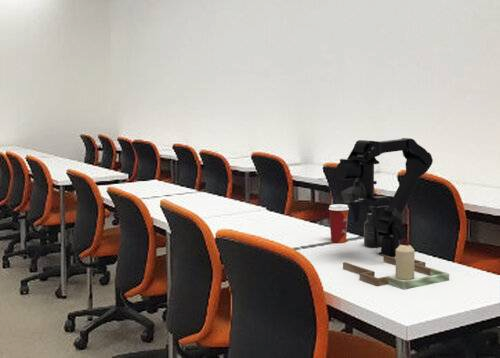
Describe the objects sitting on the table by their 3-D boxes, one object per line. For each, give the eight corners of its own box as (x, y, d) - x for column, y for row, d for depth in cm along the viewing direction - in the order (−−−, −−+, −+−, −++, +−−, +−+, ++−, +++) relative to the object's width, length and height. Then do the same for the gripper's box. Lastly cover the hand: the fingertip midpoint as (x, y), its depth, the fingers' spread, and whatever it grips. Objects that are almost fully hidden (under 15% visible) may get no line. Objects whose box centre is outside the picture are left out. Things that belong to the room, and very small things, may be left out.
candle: (415, 276, 198) (415, 243, 196) (413, 280, 193) (413, 247, 191) (396, 274, 200) (397, 242, 198) (394, 279, 194) (394, 246, 193)
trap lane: (394, 259, 218) (394, 253, 218) (458, 278, 195) (458, 271, 194) (332, 270, 205) (332, 264, 205) (393, 291, 182) (393, 284, 181)
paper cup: (350, 243, 244) (350, 206, 242) (329, 244, 244) (329, 207, 242) (347, 239, 252) (347, 203, 250) (327, 239, 252) (327, 203, 250)
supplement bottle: (373, 243, 244) (373, 211, 243) (386, 246, 239) (387, 214, 237) (360, 245, 240) (360, 213, 239) (373, 249, 235) (373, 216, 233)
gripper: (328, 177, 220) (328, 222, 222) (364, 182, 204) (364, 231, 206) (354, 175, 226) (354, 219, 228) (391, 180, 210) (390, 227, 212)
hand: (364, 224), depth 218 cm, fingers open, 9 cm apart
